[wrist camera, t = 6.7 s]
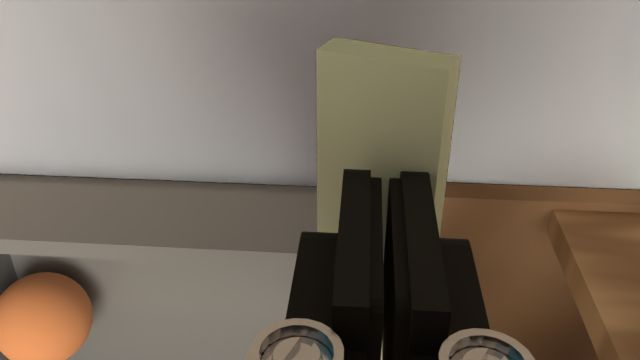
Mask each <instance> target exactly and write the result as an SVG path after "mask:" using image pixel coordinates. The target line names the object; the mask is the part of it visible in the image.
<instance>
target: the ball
mask: <svg viewBox="0 0 640 360" xmlns="http://www.w3.org/2000/svg"><path fill="white" fill-rule="evenodd" d="M92 321H93V309H92V305H91V301H90V299H89V297H88V295H87V293H86V291H85V290H84V289H83V288H82V287H81V285H79V284H78V283H77V282H76V281H74V280H73V279H71V278H69V277H67V276H65V275H62V274H58V273H52V272H40V273H35V274H31V275H28V276H25V277H23V278H21V279H19V280H17V281H15V282H14V283H13V284H11V285H10V286H9V287H8V288H7V289H6V290H5V291H4V292H3V293H2V294H1V296H0V351H1V352H2V354H3V355H5V356H6V357H7V358H8V359H10V360H66V359H68V358H69V357H71V356H72V355H73V354H75V353H76V352H77V351H78V350H79V349H80V348H81V346H82V345H83V344H84V342H85V341H86V339H87V337H88V335H89V333H90V330H91V326H92Z"/></svg>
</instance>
